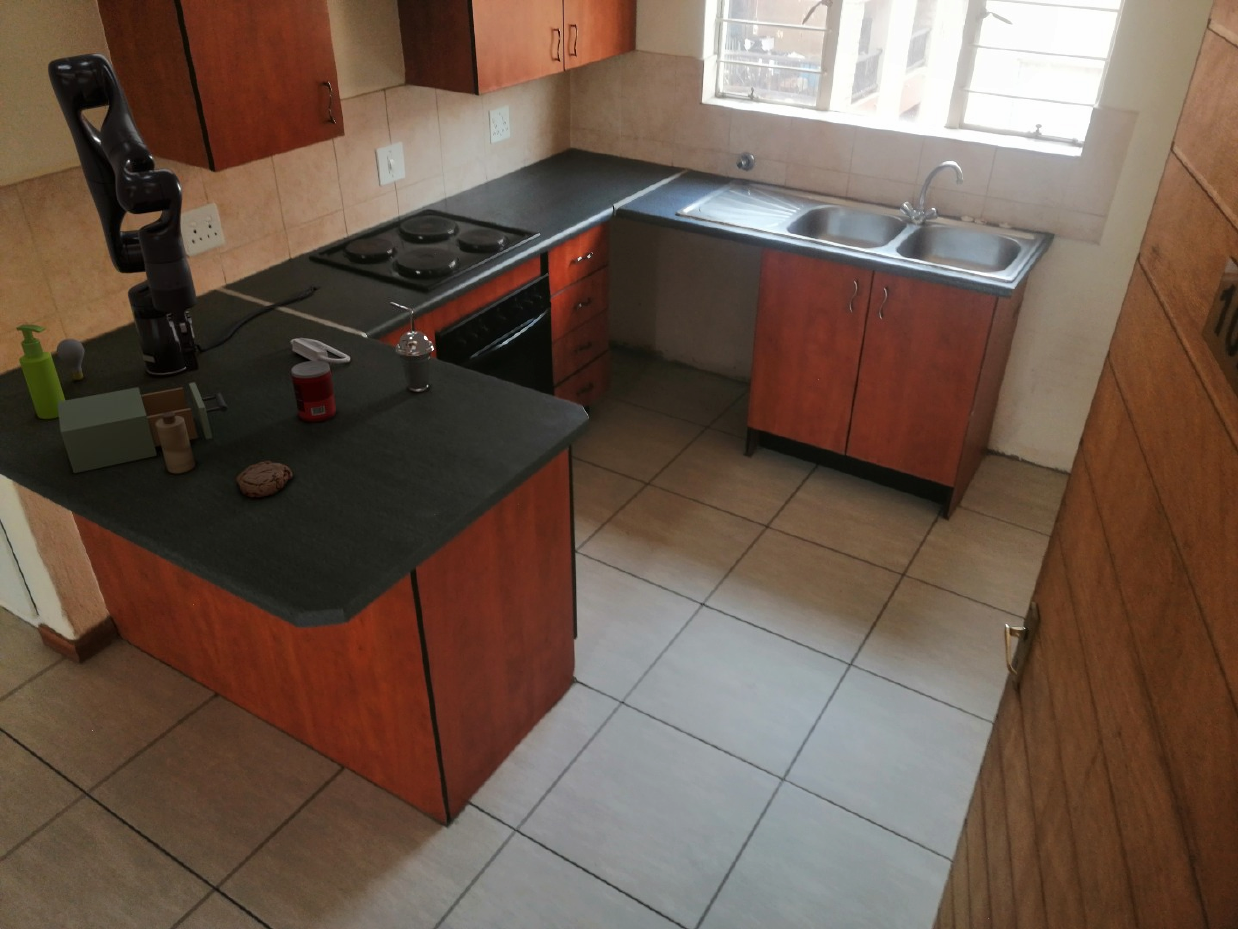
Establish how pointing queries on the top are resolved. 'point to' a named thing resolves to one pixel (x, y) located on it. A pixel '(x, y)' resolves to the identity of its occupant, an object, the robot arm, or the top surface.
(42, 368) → the soap dispenser
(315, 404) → the canned food
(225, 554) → the top surface
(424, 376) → the cup with straw
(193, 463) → the roller
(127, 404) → the cabinet
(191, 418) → the drawer
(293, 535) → the top surface
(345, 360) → the white long looped piece
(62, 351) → the light bulb
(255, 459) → the top surface
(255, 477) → the cookie
